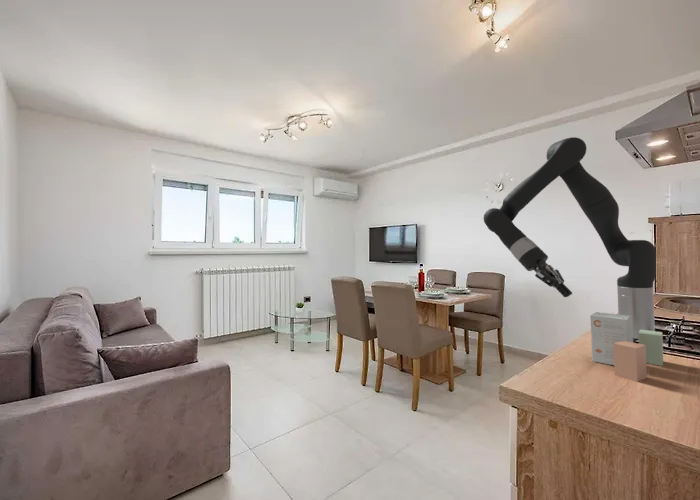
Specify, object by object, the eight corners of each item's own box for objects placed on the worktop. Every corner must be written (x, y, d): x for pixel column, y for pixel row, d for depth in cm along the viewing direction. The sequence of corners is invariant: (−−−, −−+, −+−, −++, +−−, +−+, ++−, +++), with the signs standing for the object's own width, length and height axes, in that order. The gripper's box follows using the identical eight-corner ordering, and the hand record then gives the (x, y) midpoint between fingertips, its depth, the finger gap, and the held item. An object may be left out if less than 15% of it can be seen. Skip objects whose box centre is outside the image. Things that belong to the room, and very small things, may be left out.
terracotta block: (624, 371, 81) (623, 340, 81) (646, 377, 77) (645, 345, 76) (614, 375, 79) (613, 343, 79) (637, 381, 75) (635, 348, 75)
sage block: (641, 357, 89) (640, 329, 89) (663, 361, 86) (662, 332, 86) (639, 361, 86) (638, 332, 86) (662, 366, 83) (661, 335, 83)
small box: (634, 362, 86) (632, 315, 86) (629, 369, 82) (627, 319, 82) (597, 355, 92) (596, 311, 92) (591, 361, 88) (589, 315, 88)
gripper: (527, 245, 99) (571, 289, 89) (545, 246, 107) (587, 286, 97) (509, 261, 103) (549, 304, 93) (528, 261, 111) (567, 301, 101)
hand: (568, 295), depth 95 cm, fingers closed
